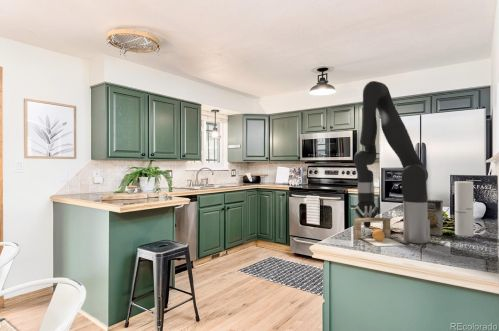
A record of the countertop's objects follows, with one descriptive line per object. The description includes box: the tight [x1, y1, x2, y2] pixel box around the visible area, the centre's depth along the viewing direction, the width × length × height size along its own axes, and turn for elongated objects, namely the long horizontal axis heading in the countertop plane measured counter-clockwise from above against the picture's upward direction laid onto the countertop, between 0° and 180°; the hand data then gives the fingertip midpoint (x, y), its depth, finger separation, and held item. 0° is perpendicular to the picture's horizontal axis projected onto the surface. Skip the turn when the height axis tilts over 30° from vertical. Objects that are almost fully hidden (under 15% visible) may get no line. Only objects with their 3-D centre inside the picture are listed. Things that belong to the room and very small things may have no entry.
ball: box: [371, 229, 386, 241], centre depth 132 cm, size 5×5×5 cm
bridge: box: [353, 217, 391, 240], centre depth 138 cm, size 3×16×9 cm, turn 96°
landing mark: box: [362, 237, 405, 247], centre depth 129 cm, size 12×12×1 cm
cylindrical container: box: [454, 180, 475, 238], centre depth 142 cm, size 7×7×25 cm
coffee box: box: [427, 199, 444, 236], centre depth 145 cm, size 9×6×16 cm
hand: (367, 227), depth 146 cm, fingers closed
